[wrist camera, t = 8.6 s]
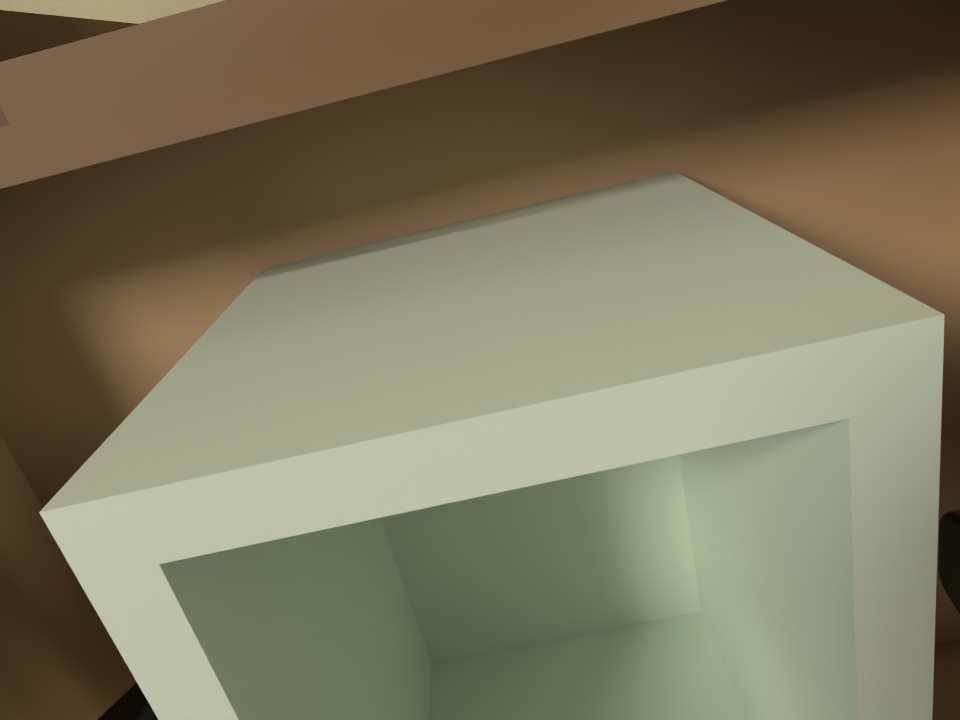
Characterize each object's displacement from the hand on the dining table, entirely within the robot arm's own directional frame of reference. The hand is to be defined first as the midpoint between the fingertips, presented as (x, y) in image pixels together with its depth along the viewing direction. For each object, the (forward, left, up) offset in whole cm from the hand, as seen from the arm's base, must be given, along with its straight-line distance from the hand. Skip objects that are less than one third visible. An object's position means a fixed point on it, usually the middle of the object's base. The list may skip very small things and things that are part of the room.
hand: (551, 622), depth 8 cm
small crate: (0, 0, -4) cm, 4 cm away
